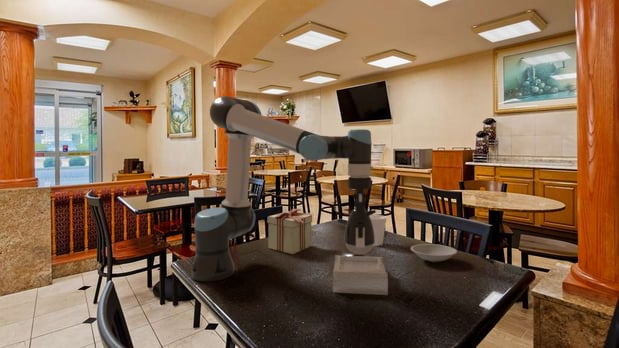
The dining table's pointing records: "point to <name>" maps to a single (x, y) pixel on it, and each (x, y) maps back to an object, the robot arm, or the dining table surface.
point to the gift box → (289, 231)
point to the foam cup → (378, 228)
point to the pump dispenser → (351, 233)
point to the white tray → (360, 274)
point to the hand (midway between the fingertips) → (359, 242)
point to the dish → (433, 252)
